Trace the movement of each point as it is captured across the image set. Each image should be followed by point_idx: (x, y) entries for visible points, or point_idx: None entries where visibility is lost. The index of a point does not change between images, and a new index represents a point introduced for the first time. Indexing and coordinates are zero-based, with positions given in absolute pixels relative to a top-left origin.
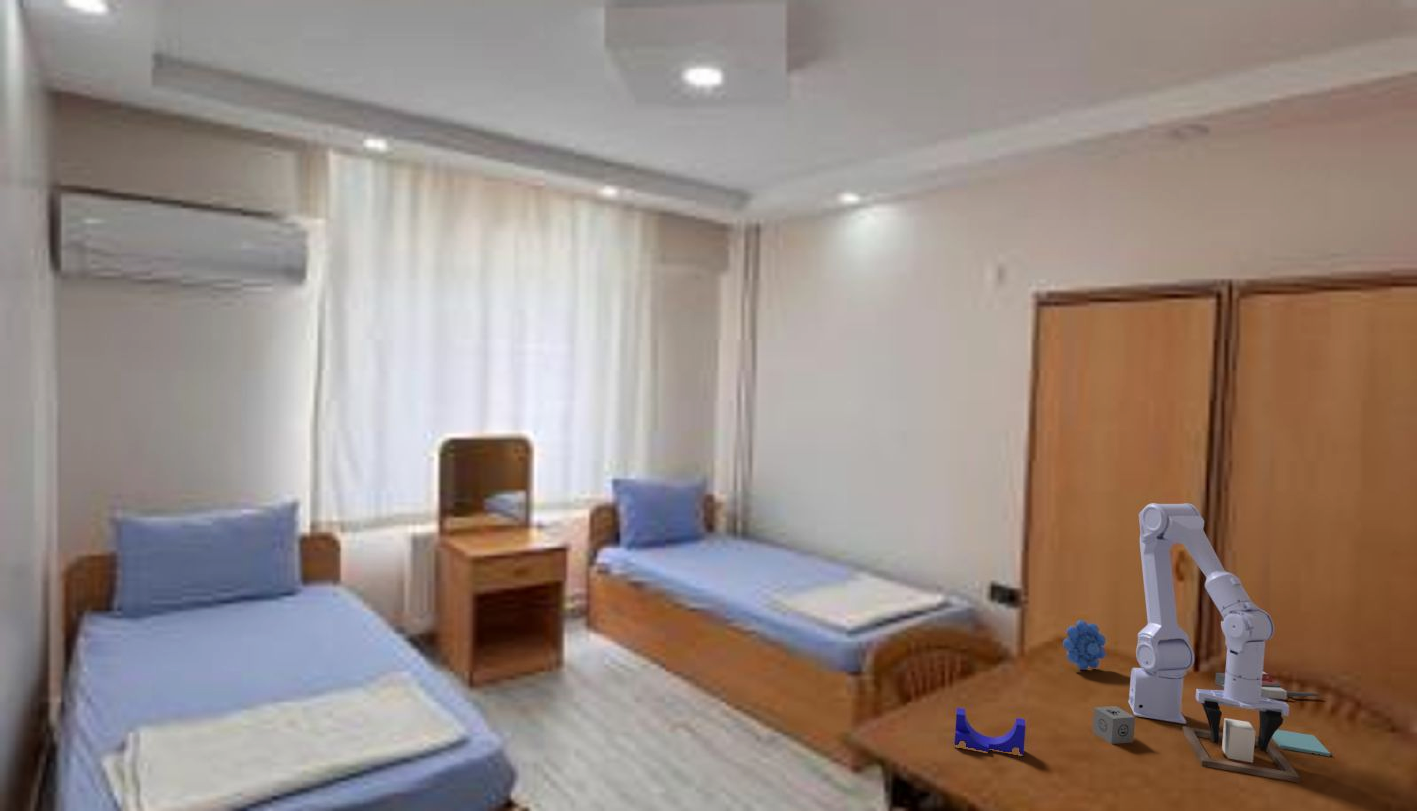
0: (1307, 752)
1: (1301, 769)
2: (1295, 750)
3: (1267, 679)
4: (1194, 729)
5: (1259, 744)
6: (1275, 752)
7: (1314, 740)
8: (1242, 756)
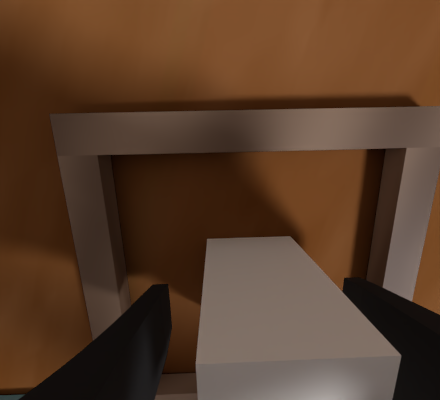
0: (9, 396)
1: (44, 255)
2: None
3: None
4: None
5: (166, 325)
6: None
7: None
8: (245, 244)
